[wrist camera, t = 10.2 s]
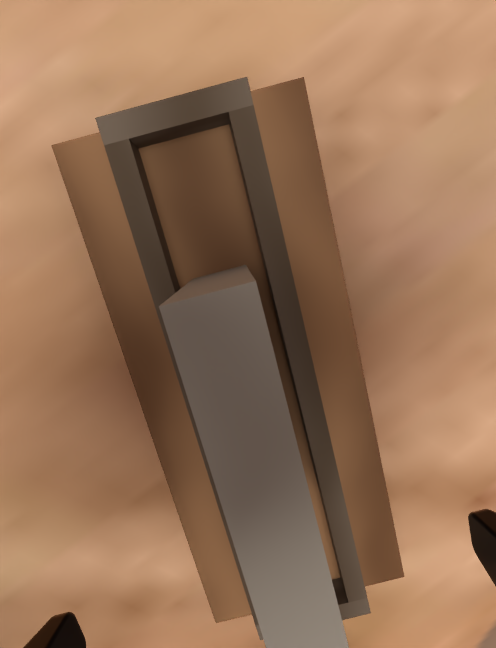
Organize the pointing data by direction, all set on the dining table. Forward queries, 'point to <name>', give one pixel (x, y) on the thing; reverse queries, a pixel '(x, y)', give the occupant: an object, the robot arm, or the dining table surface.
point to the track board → (276, 297)
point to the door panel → (254, 456)
